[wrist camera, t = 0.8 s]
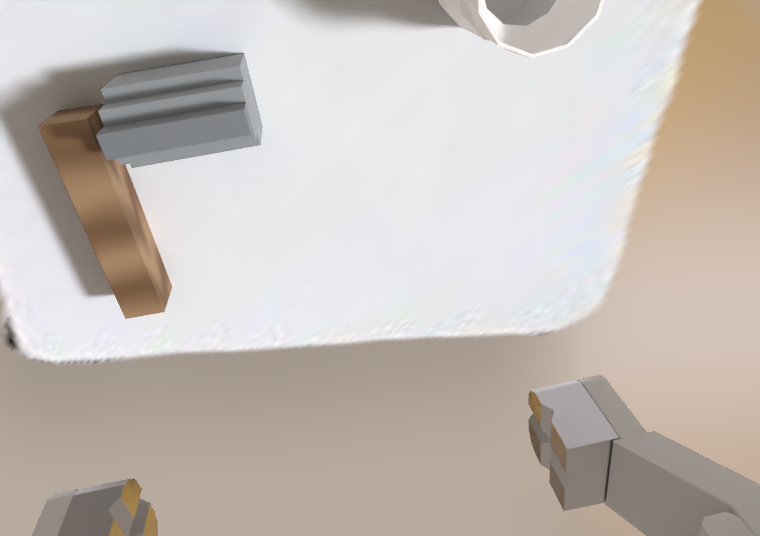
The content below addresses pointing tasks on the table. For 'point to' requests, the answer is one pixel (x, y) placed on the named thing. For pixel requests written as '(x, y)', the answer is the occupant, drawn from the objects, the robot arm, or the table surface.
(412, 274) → the table surface
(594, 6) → the vase
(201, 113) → the ridge block
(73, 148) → the walnut bar
